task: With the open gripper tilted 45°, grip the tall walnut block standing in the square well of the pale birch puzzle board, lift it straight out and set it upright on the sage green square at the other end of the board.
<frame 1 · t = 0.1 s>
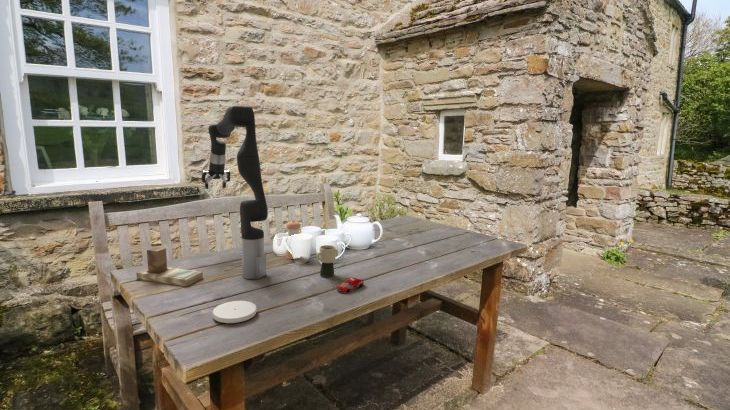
hand: (215, 188, 211), 31 cm above the table, tool tilted 20°, fingers open, 8 cm apart
puzzle board: (170, 279, 164), on the table
walnut block: (158, 276, 165), resting on puzzle board
race car: (350, 289, 160), on the table
character mug: (327, 275, 174), on the table
pepper shaker: (293, 257, 198), on the table
plastic lid: (235, 316, 133), on the table
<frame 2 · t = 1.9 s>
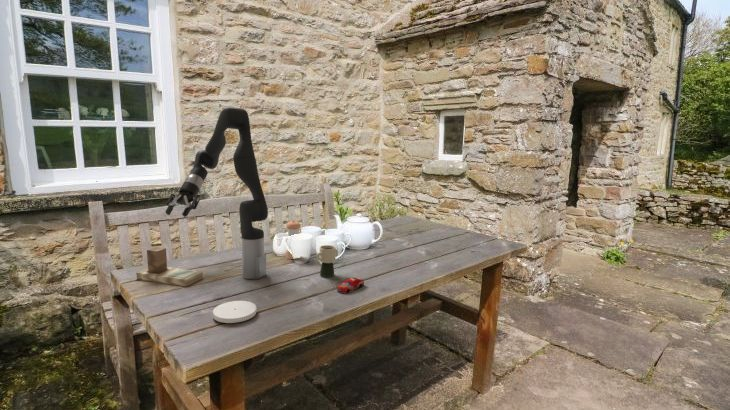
hand: (175, 215, 173), 25 cm above the table, tool tilted 45°, fingers open, 8 cm apart
nothing on the table moved.
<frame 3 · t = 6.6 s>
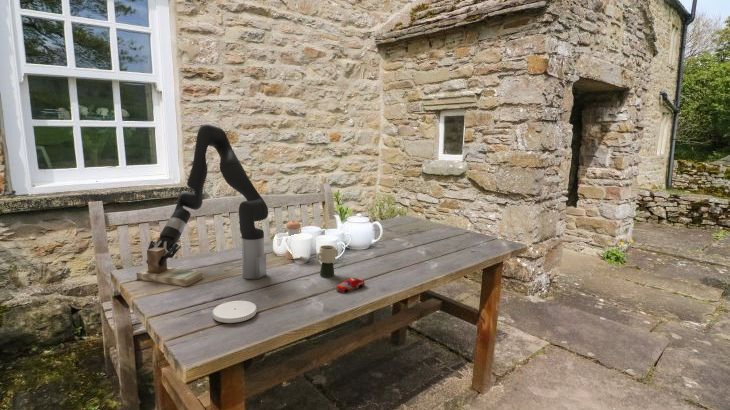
hand: (154, 264, 162), 6 cm above the table, tool tilted 45°, fingers closed on walnut block, 5 cm apart
walnut block: (158, 276, 165), resting on puzzle board, touching gripper
when the fingers open (10 cm above the table, at t = 12.8 s): walnut block drops 1 cm, resting on puzzle board.
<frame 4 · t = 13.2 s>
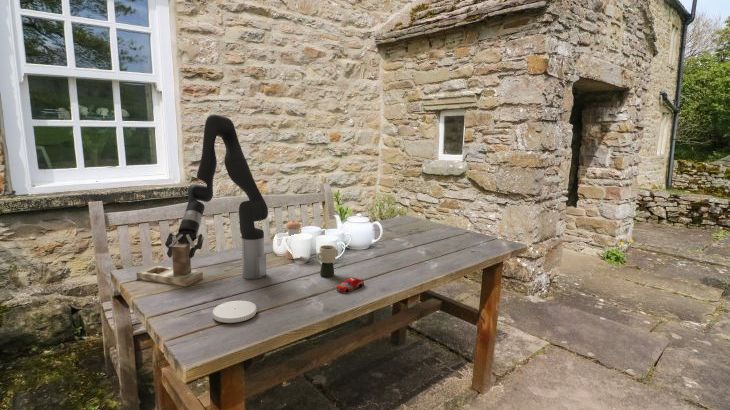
hand: (179, 257, 159), 11 cm above the table, tool tilted 45°, fingers open, 8 cm apart
walnut block: (182, 273, 162), point 3 cm above the table, touching puzzle board
everything else where it was.
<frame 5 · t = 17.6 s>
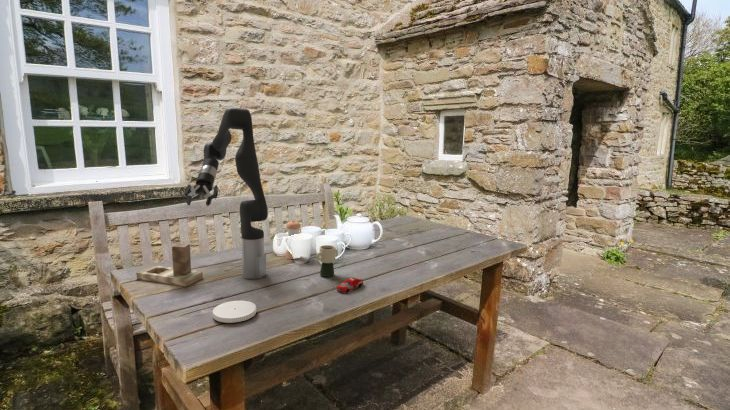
hand: (197, 204, 177), 29 cm above the table, tool tilted 45°, fingers open, 8 cm apart
nothing on the table moved.
at the end: walnut block 0.1 cm from the target spot on the puzzle board, point 3.2 cm above the puzzle board's base; walnut block tilted 0°; the gripper is holding nothing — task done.
